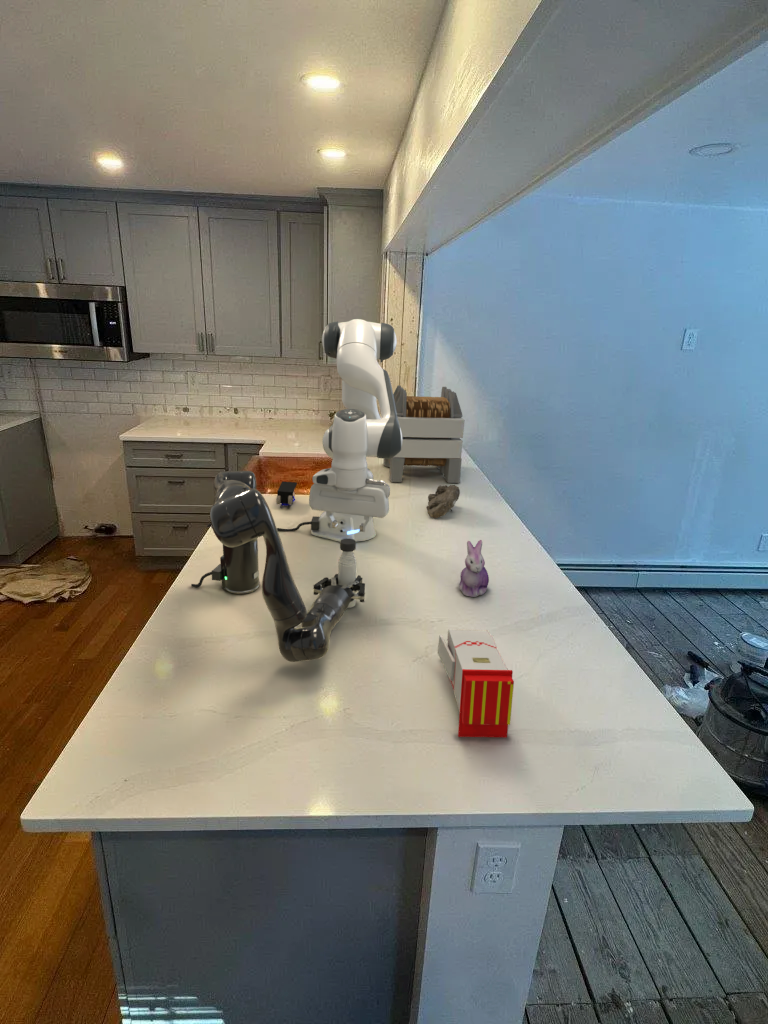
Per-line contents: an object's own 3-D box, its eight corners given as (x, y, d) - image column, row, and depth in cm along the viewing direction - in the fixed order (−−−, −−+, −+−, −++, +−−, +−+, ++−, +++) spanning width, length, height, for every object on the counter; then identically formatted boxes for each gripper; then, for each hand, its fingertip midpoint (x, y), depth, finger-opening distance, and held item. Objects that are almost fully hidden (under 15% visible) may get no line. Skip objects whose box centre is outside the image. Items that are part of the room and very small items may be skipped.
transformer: (382, 463, 289) (386, 382, 275) (445, 464, 293) (451, 384, 279) (390, 482, 257) (394, 392, 243) (460, 483, 261) (468, 394, 247)
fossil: (423, 490, 234) (453, 471, 229) (436, 508, 237) (466, 489, 232) (421, 514, 215) (454, 493, 210) (435, 532, 217) (468, 512, 212)
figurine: (470, 601, 155) (475, 551, 150) (449, 585, 164) (454, 537, 159) (497, 594, 160) (504, 545, 154) (476, 579, 168) (481, 532, 163)
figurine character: (293, 513, 218) (297, 497, 231) (292, 495, 215) (297, 480, 228) (275, 513, 218) (281, 496, 231) (274, 495, 214) (280, 479, 228)
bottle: (353, 598, 154) (355, 538, 148) (356, 607, 150) (358, 546, 144) (336, 600, 153) (337, 539, 147) (339, 608, 149) (340, 546, 143)
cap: (354, 545, 148) (354, 538, 148) (356, 551, 145) (357, 544, 144) (338, 546, 147) (339, 538, 147) (341, 552, 144) (341, 544, 143)
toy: (488, 613, 130) (523, 677, 101) (484, 667, 133) (517, 744, 104) (435, 612, 130) (455, 676, 101) (432, 666, 133) (451, 743, 103)
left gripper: (358, 597, 133) (376, 568, 149) (301, 588, 136) (324, 560, 152) (357, 625, 136) (375, 593, 152) (301, 616, 139) (324, 585, 155)
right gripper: (393, 478, 140) (391, 530, 145) (315, 469, 145) (316, 520, 149) (386, 484, 134) (384, 539, 139) (306, 476, 139) (306, 528, 144)
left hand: (349, 577), depth 152 cm, fingers closed on bottle, 4 cm apart
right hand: (348, 529), depth 144 cm, fingers open, 6 cm apart
